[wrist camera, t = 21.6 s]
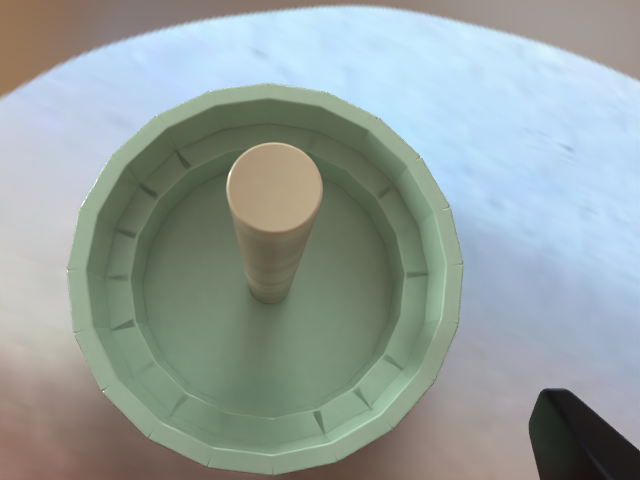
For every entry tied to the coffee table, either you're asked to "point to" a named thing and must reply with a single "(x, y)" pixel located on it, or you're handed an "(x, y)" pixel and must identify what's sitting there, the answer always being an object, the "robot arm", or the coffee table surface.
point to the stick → (273, 214)
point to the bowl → (236, 299)
